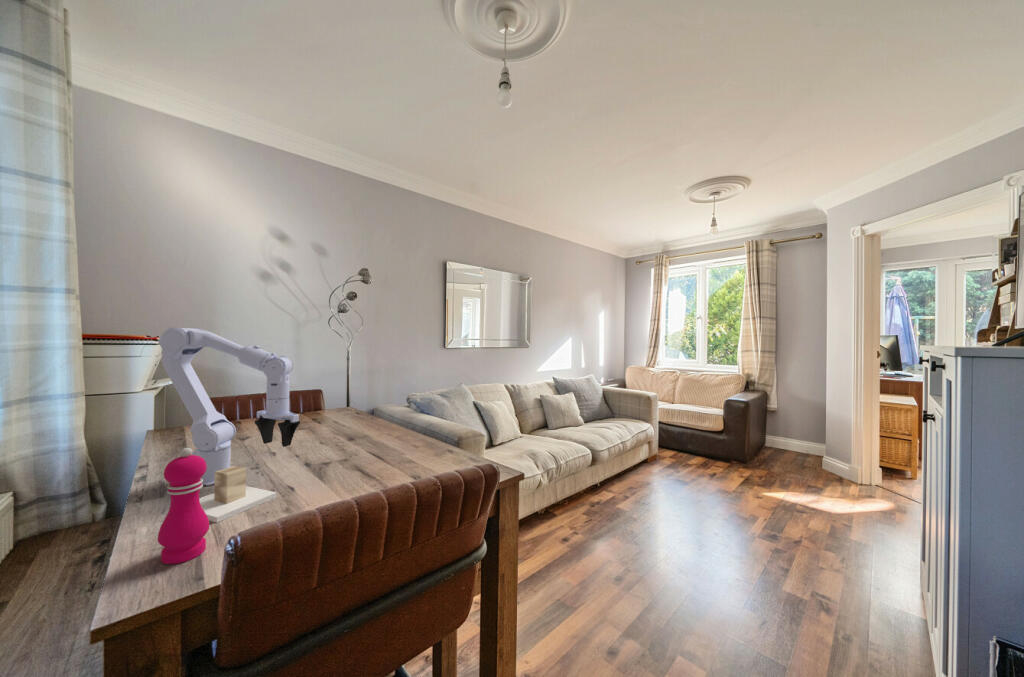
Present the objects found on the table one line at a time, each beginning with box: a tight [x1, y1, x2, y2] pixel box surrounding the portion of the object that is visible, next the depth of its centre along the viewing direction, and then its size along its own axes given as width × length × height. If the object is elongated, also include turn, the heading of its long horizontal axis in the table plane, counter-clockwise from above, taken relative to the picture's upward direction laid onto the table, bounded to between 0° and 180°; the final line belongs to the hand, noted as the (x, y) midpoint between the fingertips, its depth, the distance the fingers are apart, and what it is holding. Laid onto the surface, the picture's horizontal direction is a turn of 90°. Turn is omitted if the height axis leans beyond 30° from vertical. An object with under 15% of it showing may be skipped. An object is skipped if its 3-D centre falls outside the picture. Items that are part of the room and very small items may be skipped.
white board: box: [199, 485, 278, 523], centre depth 89 cm, size 14×14×1 cm
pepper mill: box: [157, 447, 210, 565], centre depth 69 cm, size 7×7×20 cm
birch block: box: [213, 465, 247, 504], centre depth 90 cm, size 4×4×7 cm
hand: (277, 444), depth 108 cm, fingers open, 7 cm apart
